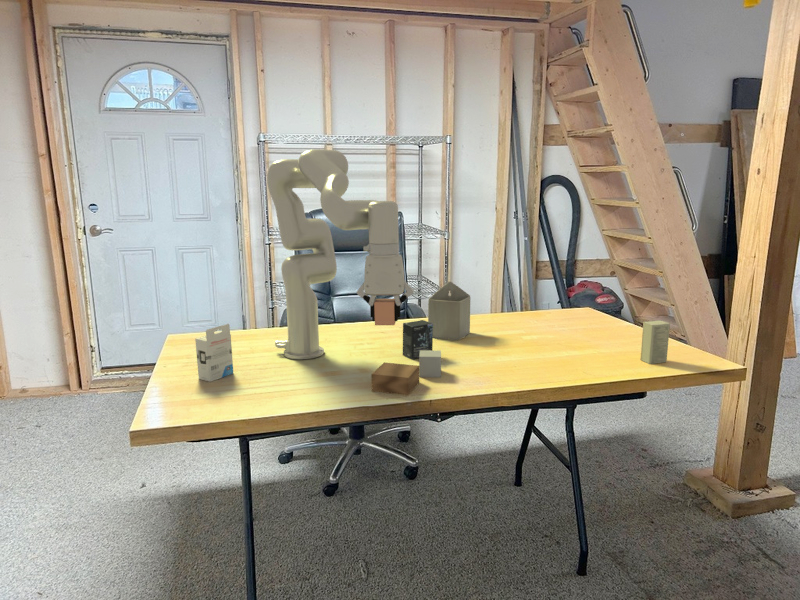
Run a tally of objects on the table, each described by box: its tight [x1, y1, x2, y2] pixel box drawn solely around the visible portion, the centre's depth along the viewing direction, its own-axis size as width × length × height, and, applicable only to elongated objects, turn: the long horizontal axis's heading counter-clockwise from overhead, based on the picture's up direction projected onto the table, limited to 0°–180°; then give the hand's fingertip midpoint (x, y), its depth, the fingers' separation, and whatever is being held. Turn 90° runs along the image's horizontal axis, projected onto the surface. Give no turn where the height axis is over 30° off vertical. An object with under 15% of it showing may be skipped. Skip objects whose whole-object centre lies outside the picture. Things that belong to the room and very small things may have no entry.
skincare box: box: [640, 319, 671, 365], centre depth 168 cm, size 6×4×12 cm
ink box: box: [194, 323, 234, 383], centre depth 157 cm, size 9×5×15 cm, turn 148°
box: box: [402, 319, 434, 360], centre depth 175 cm, size 8×6×11 cm
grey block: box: [418, 350, 442, 378], centre depth 159 cm, size 6×6×6 cm
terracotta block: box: [374, 298, 397, 326], centre depth 146 cm, size 5×5×6 cm
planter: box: [427, 280, 471, 341], centre depth 195 cm, size 16×8×19 cm, turn 111°
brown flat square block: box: [370, 362, 420, 396], centre depth 149 cm, size 10×10×5 cm
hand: (385, 319), depth 146 cm, fingers closed on terracotta block, 5 cm apart
